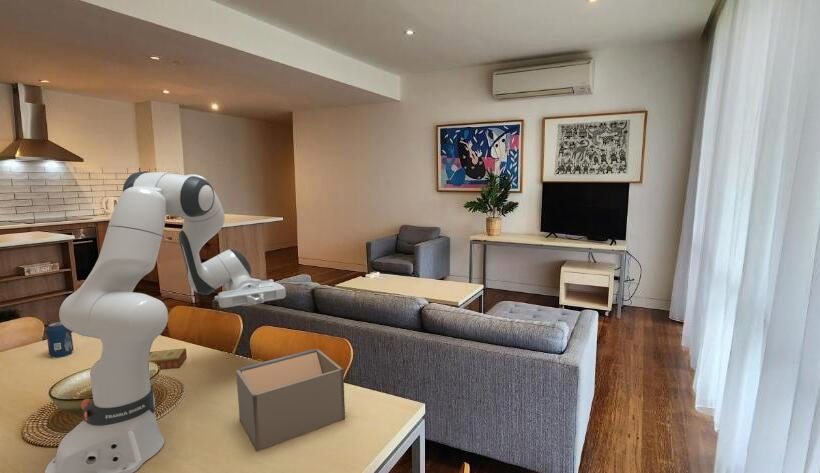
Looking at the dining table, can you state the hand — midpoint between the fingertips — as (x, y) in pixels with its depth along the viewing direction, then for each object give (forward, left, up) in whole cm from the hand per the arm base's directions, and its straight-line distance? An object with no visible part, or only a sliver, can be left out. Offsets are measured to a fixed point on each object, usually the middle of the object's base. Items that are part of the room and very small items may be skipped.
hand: (259, 301), depth 129 cm
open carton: (0, -25, -27) cm, 37 cm away
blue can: (-54, +67, -27) cm, 90 cm away
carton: (-26, +35, -27) cm, 51 cm away
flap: (0, -25, -23) cm, 34 cm away
